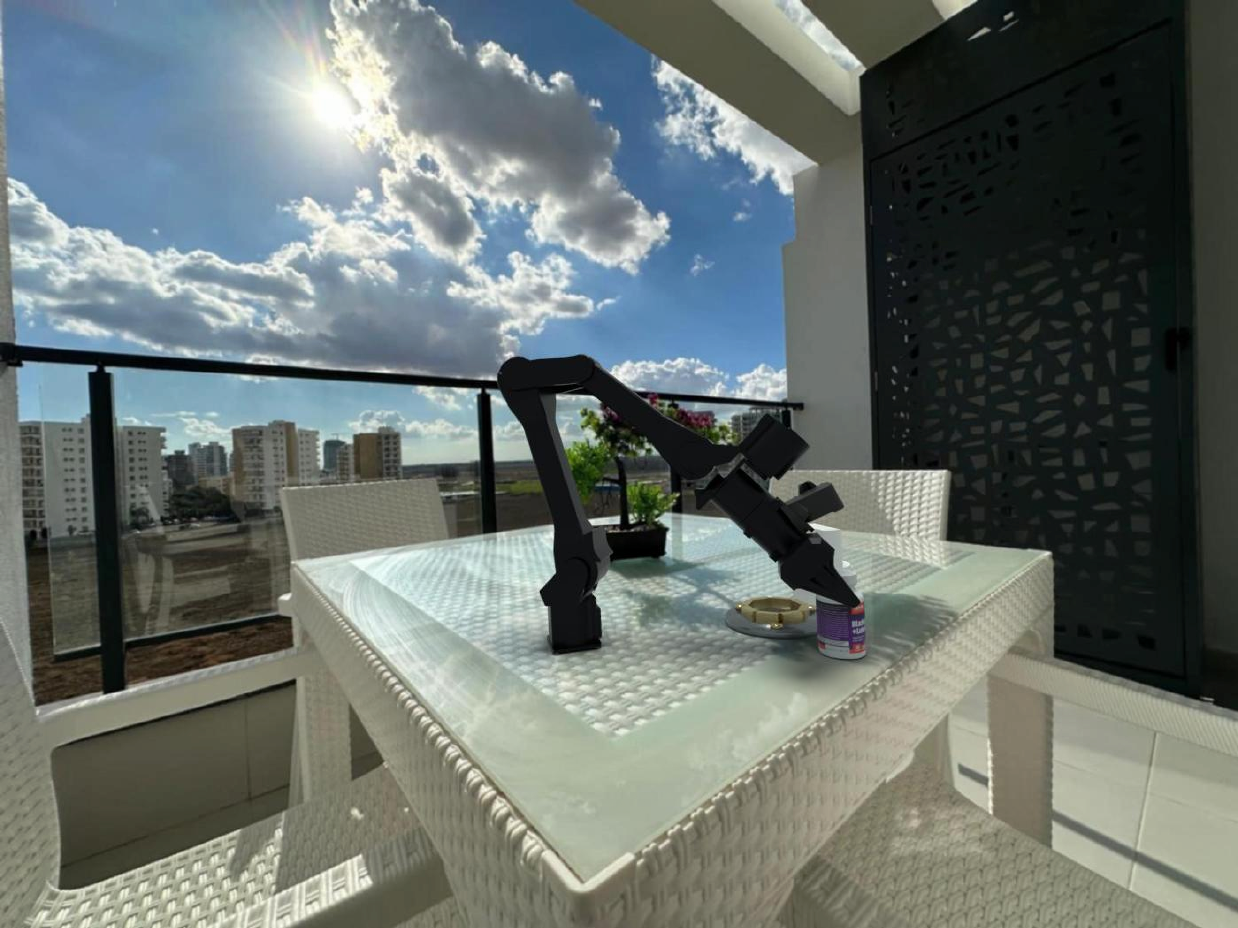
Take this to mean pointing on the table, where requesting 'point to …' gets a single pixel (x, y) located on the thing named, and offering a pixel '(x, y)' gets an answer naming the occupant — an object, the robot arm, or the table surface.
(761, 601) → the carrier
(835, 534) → the base with upright slab
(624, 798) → the table surface
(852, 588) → the pill bottle
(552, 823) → the table surface
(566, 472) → the robot arm
